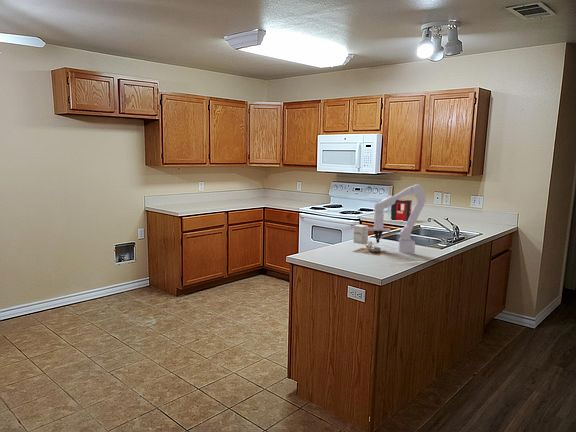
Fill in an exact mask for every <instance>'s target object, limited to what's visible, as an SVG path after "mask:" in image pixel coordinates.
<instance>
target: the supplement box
mask: <svg viewBox="0 0 576 432" xmlns="http://www.w3.org/2000/svg"><path fill="white" fill-rule="evenodd" d="M367 227H369V225H366V224H365V225H364V224H355V225H353V244H363V245H364V244H366V245H367V244H368V240H369V231H367Z"/></svg>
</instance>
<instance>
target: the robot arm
mask: <svg viewBox="0 0 576 432" xmlns="http://www.w3.org/2000/svg"><path fill="white" fill-rule="evenodd" d="M407 195H409V196H410V195H414V196H415V198H416V203H415V205H414V206H413V208H412V210H411V215H410V217H409V219H408V221H407V223H405V225H404V227H402V228H401V230H399V236H400V237H399V239H398V252H399V253H401V254H410V255H415V253H416V242H415V240H413V239H412V238H411V237H412V236H411V235H412V231H413V229H414V226H415V224H416V222H417V220H418V219H419V216H420V213H421V212H422V210H423V207H424V206H425V204H426V201H427V200H426V193H425V190H424V188H423V186H422V185H421V184H419V183H415V184H414V185H411V186H409V187H406V188H404V189H403V190H401V191H400V192H398V193H397V194H394V195H387V196H386V197H385V198H383V199H381V200H379V202H376V203H375V205H374V219H373V220H374V221H373V227H370V226H368V227H367V231H368V232H373V234H374V236H375V240H376V244H379V243H380V239H381V237H382V235H383V233H384V232H386V233H391V228H384V215H385V214H384V209H388V208H389V207H390V208H391V207H392V205H393V204H395V201H396V200H401V199H402V198H404V197H405V196H407Z"/></svg>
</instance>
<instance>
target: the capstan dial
mask: <svg viewBox="0 0 576 432" xmlns="http://www.w3.org/2000/svg"><path fill="white" fill-rule="evenodd" d="M365 248H368V250H369V252H371V253H380V250H382V249H381V247H379V246H376V245H375V246H373V242H372V241H370V240H369V241H368V243H367V244H366V245H365Z"/></svg>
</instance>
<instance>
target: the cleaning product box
mask: <svg viewBox="0 0 576 432" xmlns="http://www.w3.org/2000/svg"><path fill="white" fill-rule="evenodd" d="M412 201H413V200H410V199H398V200H396V201H395V204H393V205H391V207H390V208H391V210H390V220H391V219H392V220H403V221H408V219H409V217H410V215H411V213H412V205H413V202H412Z"/></svg>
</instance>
